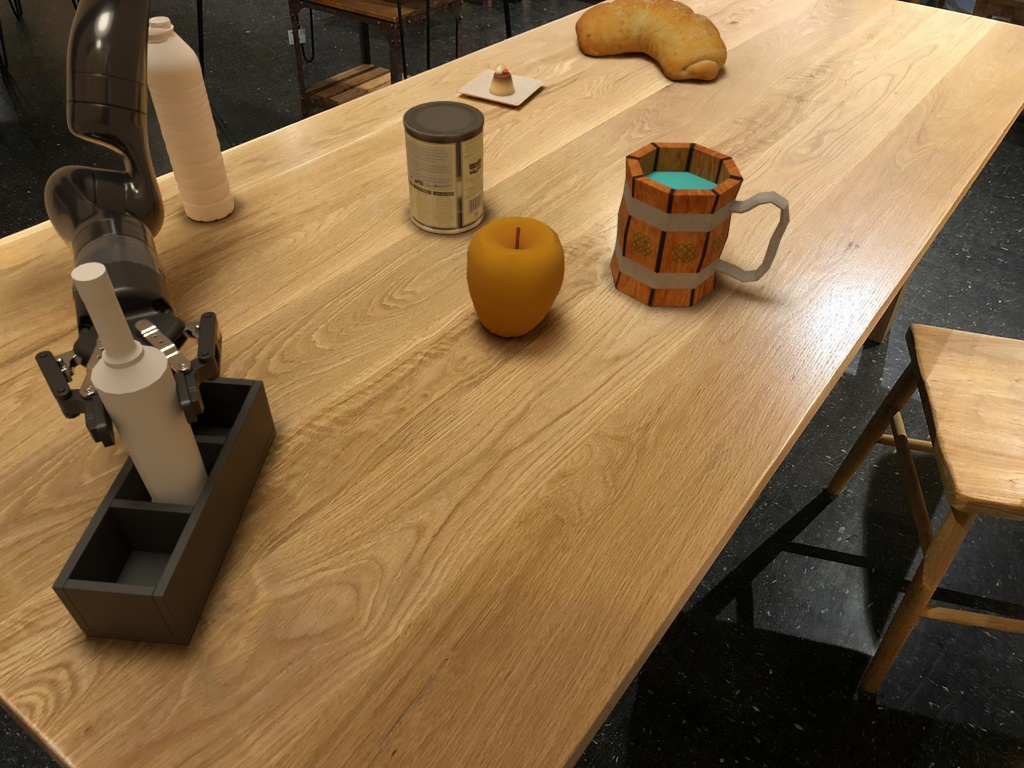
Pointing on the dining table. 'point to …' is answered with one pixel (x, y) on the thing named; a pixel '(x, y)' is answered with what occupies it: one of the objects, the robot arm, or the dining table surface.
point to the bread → (655, 36)
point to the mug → (682, 223)
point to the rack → (169, 529)
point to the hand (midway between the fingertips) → (148, 426)
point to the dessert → (501, 87)
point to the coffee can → (445, 166)
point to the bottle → (141, 397)
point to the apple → (514, 274)
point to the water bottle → (187, 123)
